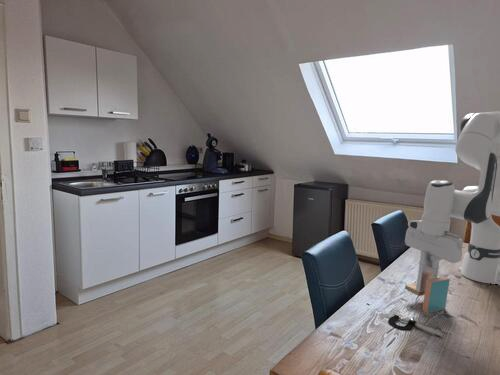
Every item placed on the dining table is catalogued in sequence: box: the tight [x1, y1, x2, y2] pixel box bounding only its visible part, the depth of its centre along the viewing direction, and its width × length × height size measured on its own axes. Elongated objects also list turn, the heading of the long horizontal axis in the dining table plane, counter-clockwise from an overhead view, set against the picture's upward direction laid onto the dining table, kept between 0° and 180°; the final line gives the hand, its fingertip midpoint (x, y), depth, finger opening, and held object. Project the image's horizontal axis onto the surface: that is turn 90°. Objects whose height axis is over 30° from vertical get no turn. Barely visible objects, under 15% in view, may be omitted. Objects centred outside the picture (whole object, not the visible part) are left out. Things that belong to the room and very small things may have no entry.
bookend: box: [404, 251, 440, 297], centre depth 131 cm, size 8×6×16 cm
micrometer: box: [387, 314, 444, 338], centre depth 113 cm, size 15×7×2 cm, turn 45°
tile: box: [422, 276, 451, 314], centre depth 126 cm, size 9×2×11 cm, turn 116°
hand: (429, 266), depth 129 cm, fingers closed on bookend
